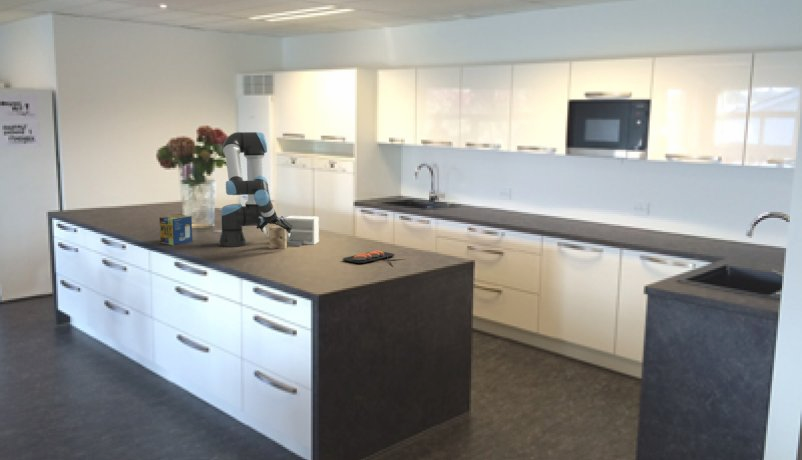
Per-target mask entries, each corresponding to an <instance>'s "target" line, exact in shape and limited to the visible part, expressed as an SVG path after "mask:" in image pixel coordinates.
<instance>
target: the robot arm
mask: <svg viewBox="0 0 802 460" xmlns="http://www.w3.org/2000/svg"><path fill="white" fill-rule="evenodd" d="M267 143H268V142H267V139H266V136H265V134H264V133H263V132H260V131H259V132H258V131H257V132H256V131H253V132H251V131H250V132H249V131H248V132H247V131H245V132H243V131H237V132H232V133H231V134H229V135H228V136H227V137H226V138H225V140H224V142H223V144H222V153H223V155H224V156H225V164H226V169H227V179H228V180H227V181H225V193H226V195H228V196H242V195H243V196H245V195H247V201H245V204H244V205H245V206H244V205H242V204H241V203H232V204H226V205H224V206H222V207H221V210H220V217H221V218H220V219H221V233H220V236H219V239H218V245H219V246H220V247H226V248H227V247H229V248H230V247H232V248H233V247H241V246H242V247H243V246H245V245H246V244H247V241H246V237H245V234H244V232H243V227H254V226H256V229H260V232H262V233H263V235H264V236H265V237H267V236H268V231H267V228H266V226H267V225H268V224H269V225H276V226H278V227H282V228H284V229H286V233H287V235H288V237H290V234H291V233H290V232H291V229H292V225H291V224H290V223H289V222H287V221H286V220H285V217H284V216H282V215H281V216H280V217H279V216H278V215H277V212H276V210H275V207H274V205H273V203H272V200H271V196H270V190H269V183H268V180H267V178H266V177H265V176H263V158H264V157H265V153H267V152H268V144H267ZM240 154H243V157H245V158H246V176H247V179H246V180H244V177H243V171H242V164H241V158H240Z"/></svg>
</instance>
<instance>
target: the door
mask: <svg viewBox="0 0 802 460" xmlns="http://www.w3.org/2000/svg"><path fill="white" fill-rule="evenodd" d="M268 230H269V249H275V248H278V249H279V250H281V249H282V250H283V249H284V250H286V249H287V248H288V246H287V233H286V229H284V228H282V227H281V226H269V229H268Z"/></svg>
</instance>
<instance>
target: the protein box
mask: <svg viewBox="0 0 802 460" xmlns="http://www.w3.org/2000/svg"><path fill="white" fill-rule="evenodd" d="M159 233H160V234H159V235H160V244H161V245H170V246H177V245H181V244H186V243H190V242H193V220H192V215H185V214H174V215H173V214H171V215H167V216H162V217H161V216H160V217H159Z"/></svg>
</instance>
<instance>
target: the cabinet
mask: <svg viewBox="0 0 802 460" xmlns="http://www.w3.org/2000/svg"><path fill="white" fill-rule="evenodd" d="M284 219H285V220H286V221H287V222H289V223H290V224H291V225H292V229H291V232H290V233H291V234H290V237H288V235H287V247H300V246H301V247H302V245H303V246H304V245H316V244H317V243H319V242H320V217H319V216H311V215H310V216H308V215H307V216H306V215H305V216H304V215H288V216H287V217H284Z"/></svg>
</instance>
